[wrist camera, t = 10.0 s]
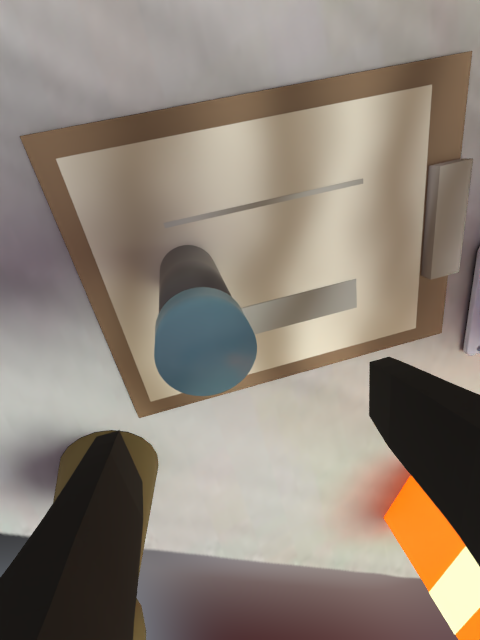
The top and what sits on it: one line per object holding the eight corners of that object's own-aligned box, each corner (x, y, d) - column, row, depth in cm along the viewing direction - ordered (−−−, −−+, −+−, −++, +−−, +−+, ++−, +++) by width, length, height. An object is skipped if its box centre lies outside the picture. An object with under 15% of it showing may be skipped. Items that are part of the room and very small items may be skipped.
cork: (36, 461, 20) (-78, 735, 11) (123, 414, 20) (88, 649, 11) (98, 512, 23) (52, 765, 14) (175, 471, 23) (185, 698, 13)
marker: (210, 236, 16) (247, 294, 9) (223, 292, 18) (264, 381, 11) (149, 250, 16) (139, 322, 9) (167, 306, 17) (170, 407, 10)
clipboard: (465, 53, 16) (487, 45, 15) (437, 330, 23) (450, 338, 21) (23, 136, 14) (11, 135, 13) (139, 413, 20) (138, 427, 19)
